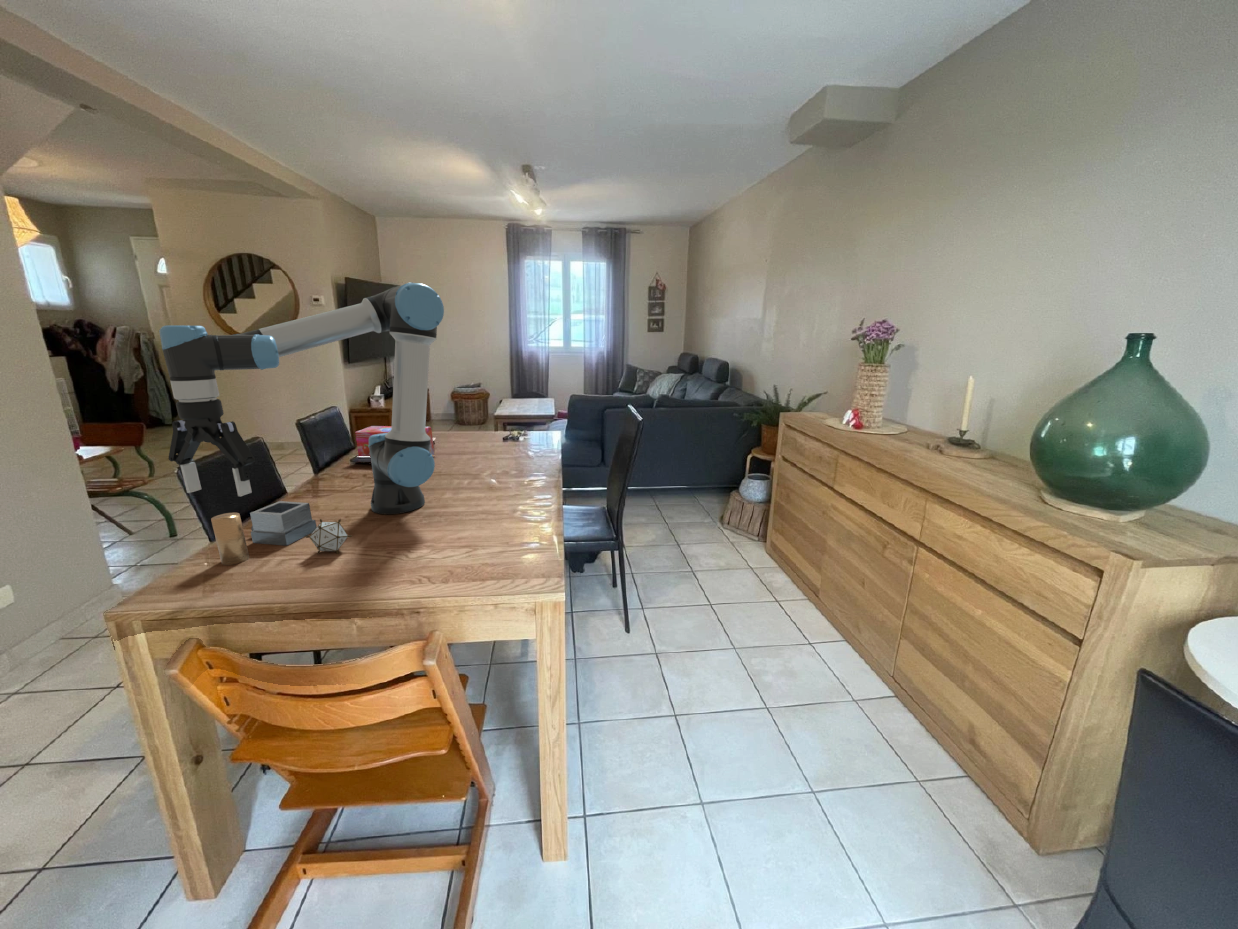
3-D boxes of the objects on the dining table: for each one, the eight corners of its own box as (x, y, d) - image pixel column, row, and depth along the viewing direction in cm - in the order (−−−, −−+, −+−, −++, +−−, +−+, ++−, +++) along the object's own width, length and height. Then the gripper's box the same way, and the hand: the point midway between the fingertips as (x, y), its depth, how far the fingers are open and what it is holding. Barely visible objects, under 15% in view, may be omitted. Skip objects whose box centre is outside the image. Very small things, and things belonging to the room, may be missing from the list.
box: (357, 463, 199) (352, 430, 196) (376, 455, 212) (371, 424, 208) (421, 465, 196) (417, 432, 193) (436, 457, 209) (432, 426, 205)
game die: (332, 568, 118) (311, 549, 110) (313, 549, 122) (291, 529, 114) (364, 542, 123) (345, 522, 115) (344, 524, 126) (325, 504, 118)
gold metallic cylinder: (254, 556, 117) (245, 513, 114) (234, 566, 112) (224, 521, 109) (236, 554, 118) (226, 511, 115) (215, 564, 113) (204, 520, 110)
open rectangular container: (317, 530, 132) (312, 502, 130) (287, 545, 122) (281, 516, 120) (274, 527, 134) (268, 499, 132) (241, 541, 125) (234, 512, 122)
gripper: (263, 398, 106) (280, 490, 112) (168, 395, 110) (190, 484, 116) (231, 403, 99) (251, 501, 105) (131, 400, 103) (156, 494, 109)
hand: (219, 492), depth 110 cm, fingers open, 13 cm apart
